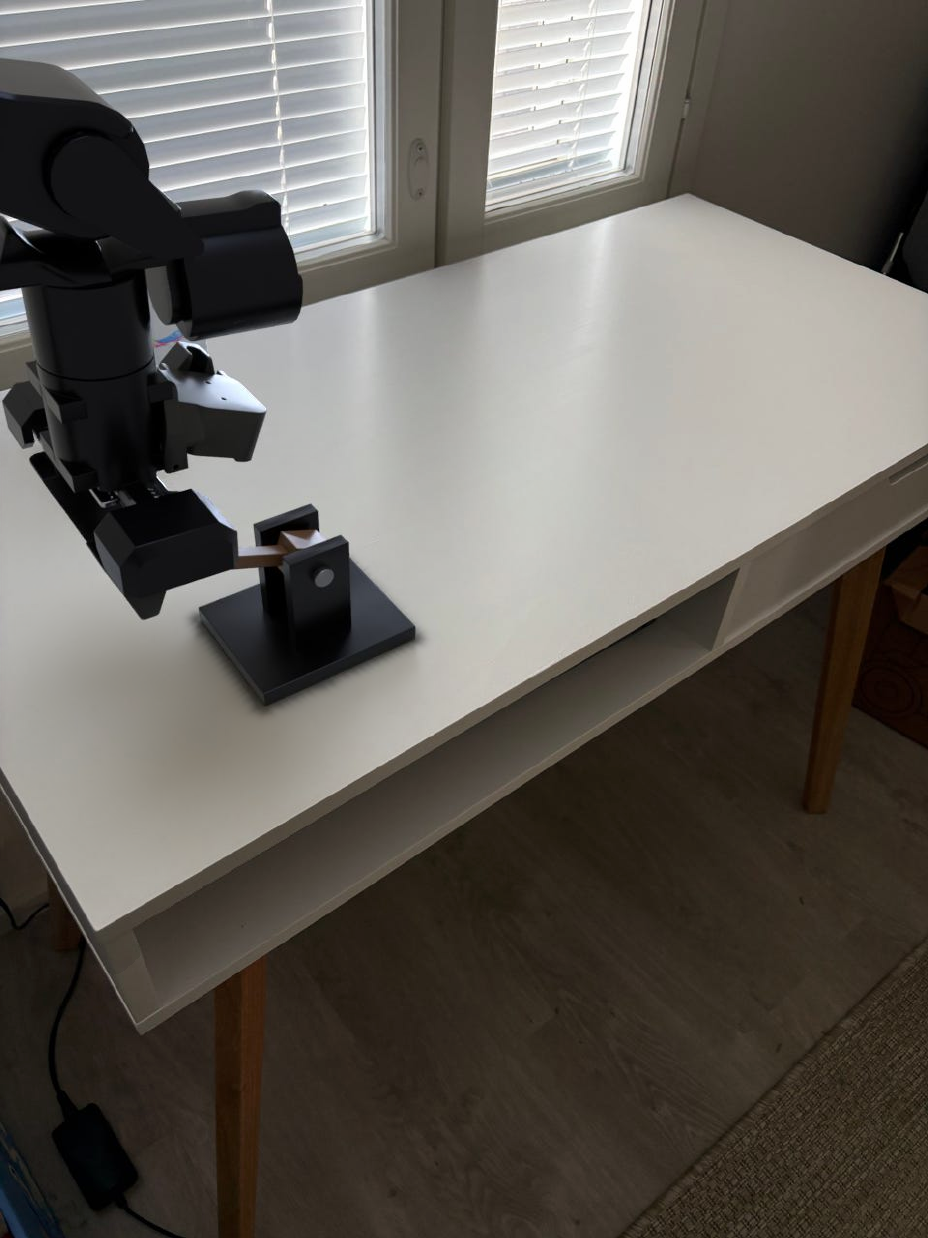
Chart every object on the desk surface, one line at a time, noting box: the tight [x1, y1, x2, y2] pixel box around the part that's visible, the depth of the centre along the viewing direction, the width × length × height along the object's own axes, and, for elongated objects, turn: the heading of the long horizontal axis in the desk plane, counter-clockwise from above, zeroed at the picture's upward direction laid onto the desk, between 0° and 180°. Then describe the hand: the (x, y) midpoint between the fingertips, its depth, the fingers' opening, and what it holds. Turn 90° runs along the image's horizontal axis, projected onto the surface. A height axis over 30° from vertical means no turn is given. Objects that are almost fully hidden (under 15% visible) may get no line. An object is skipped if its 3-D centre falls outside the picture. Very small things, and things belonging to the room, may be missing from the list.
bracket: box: [198, 503, 417, 706], centre depth 70 cm, size 12×10×9 cm
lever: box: [230, 530, 326, 574], centre depth 64 cm, size 14×5×2 cm, turn 127°
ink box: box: [147, 290, 209, 367], centre depth 93 cm, size 8×5×12 cm, turn 25°
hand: (131, 590), depth 61 cm, fingers closed on lever, 5 cm apart
